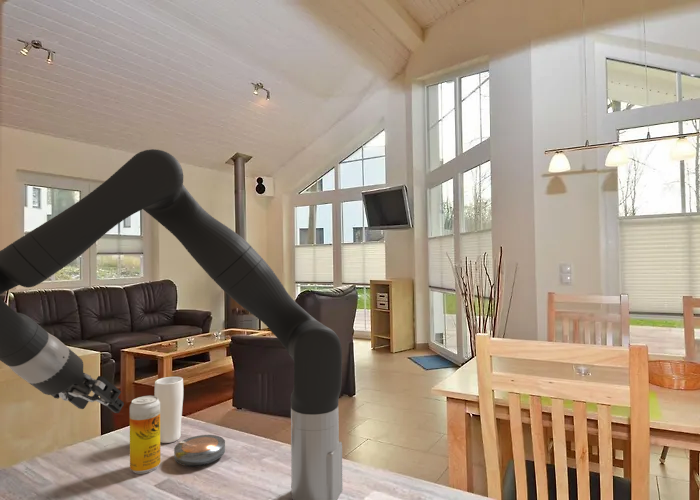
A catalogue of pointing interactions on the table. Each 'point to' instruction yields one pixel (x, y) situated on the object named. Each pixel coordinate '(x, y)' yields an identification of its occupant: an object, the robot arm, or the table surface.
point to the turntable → (199, 450)
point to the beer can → (145, 434)
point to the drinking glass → (170, 407)
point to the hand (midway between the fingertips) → (102, 406)
